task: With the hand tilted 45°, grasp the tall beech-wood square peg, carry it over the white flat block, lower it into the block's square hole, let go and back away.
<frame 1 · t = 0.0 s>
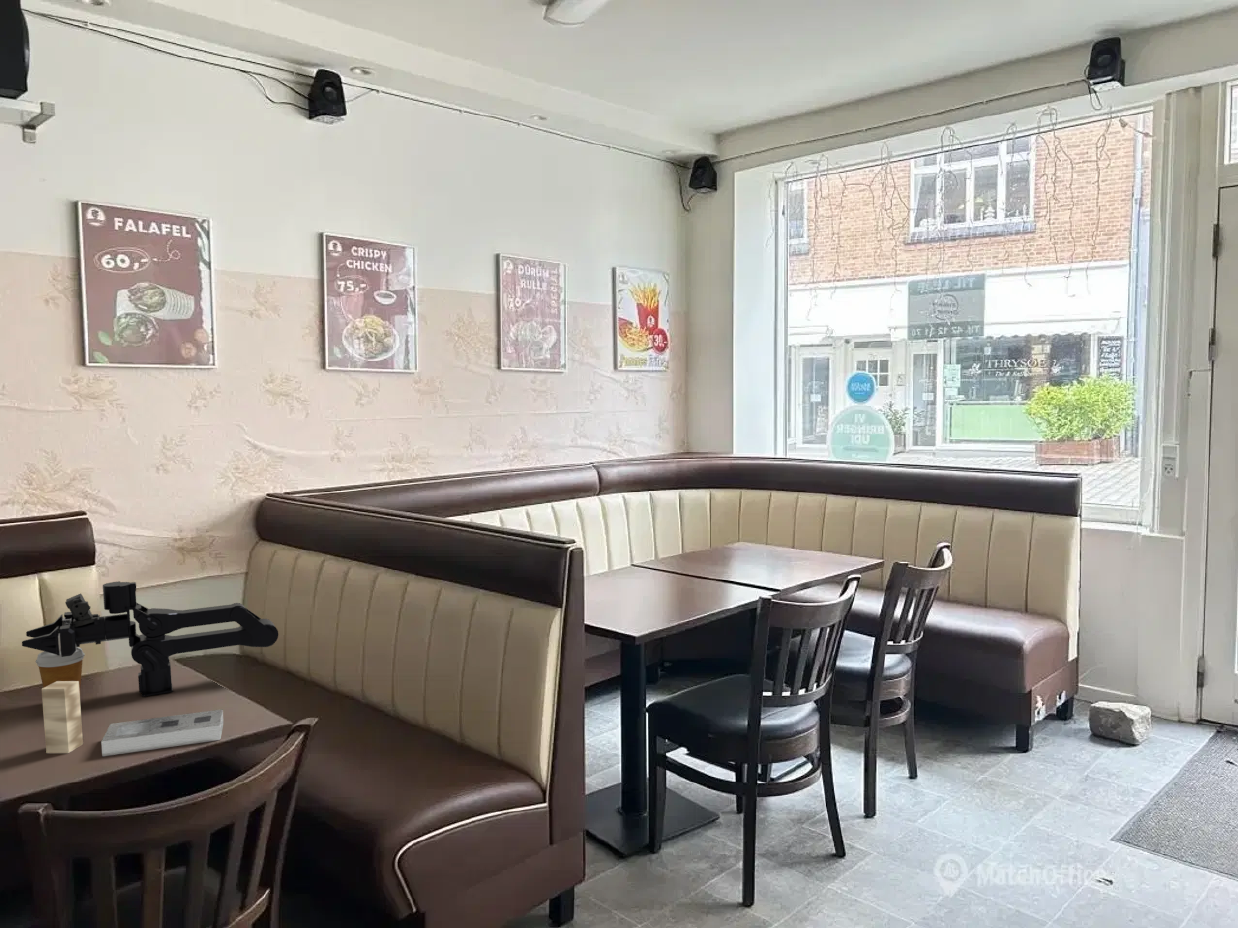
hand: (24, 638, 197), 17 cm above the table, tool horizontal, fingers open, 9 cm apart
white flat block: (135, 743, 179), on the table
beech peg: (64, 748, 177), on the table
disposable coffee cup: (63, 704, 203), on the table
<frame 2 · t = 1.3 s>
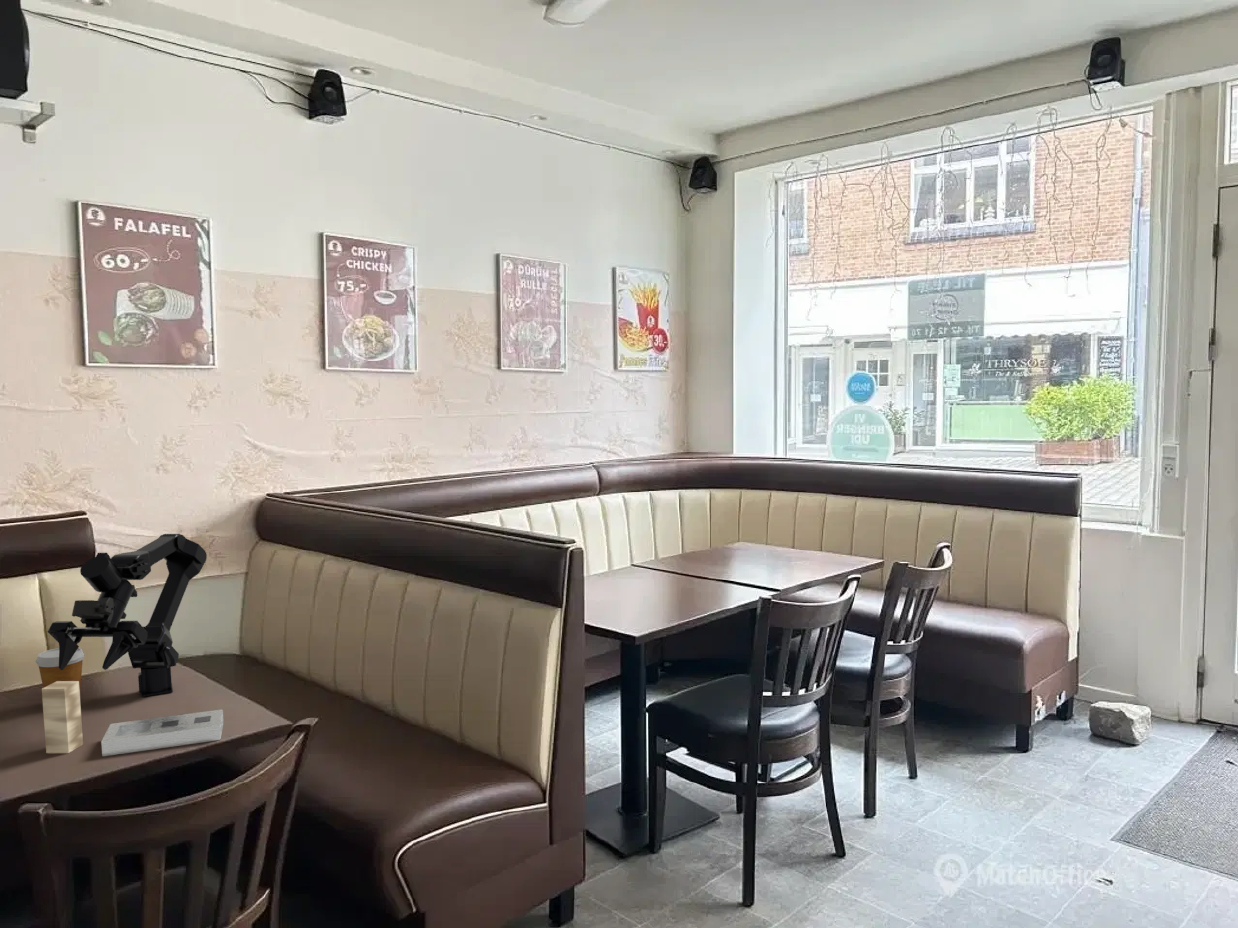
hand: (82, 668, 183), 14 cm above the table, tool tilted 45°, fingers open, 9 cm apart
nothing on the table moved.
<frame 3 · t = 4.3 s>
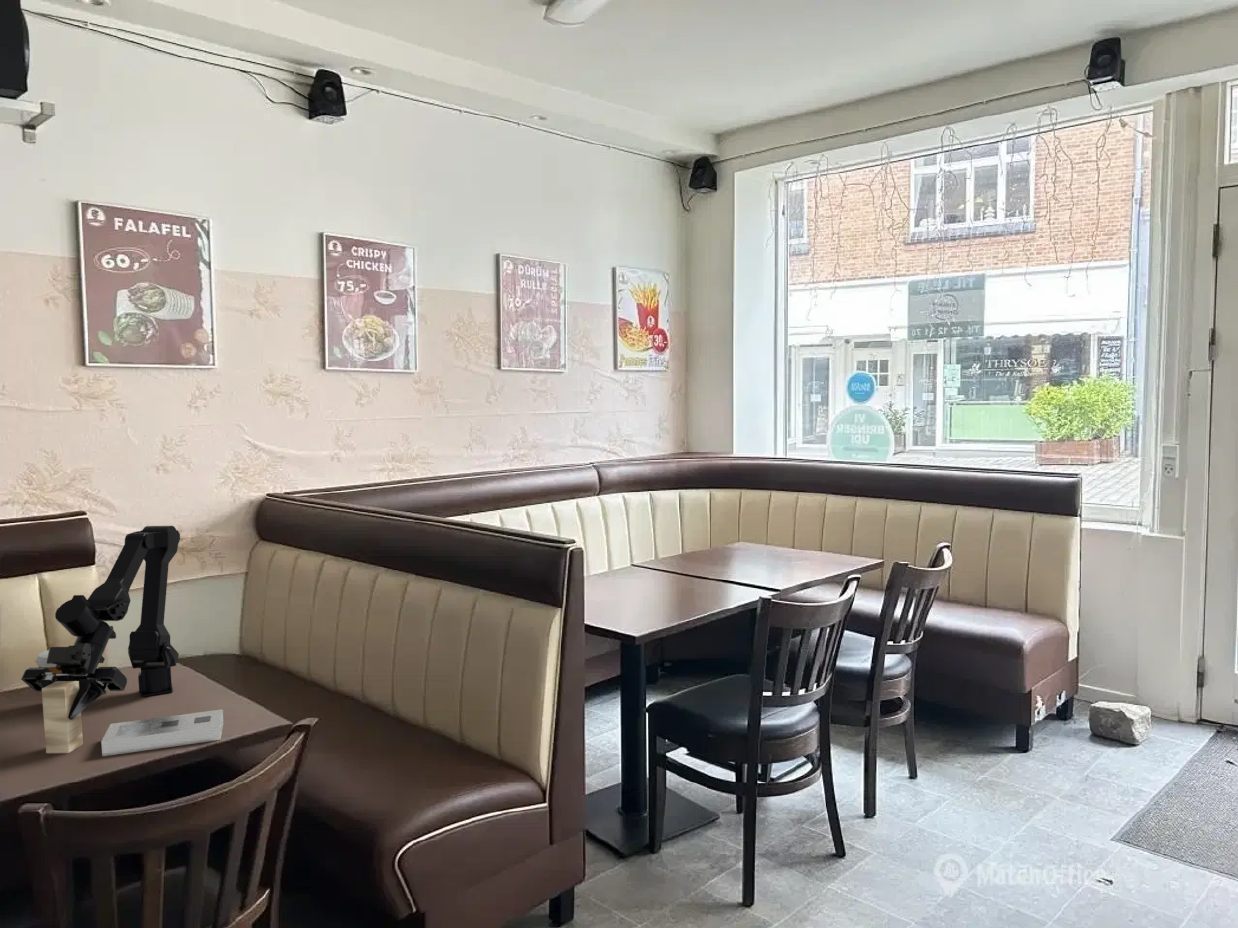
hand: (58, 718, 175), 7 cm above the table, tool tilted 45°, fingers closed on beech peg, 4 cm apart
beech peg: (64, 748, 177), on the table, touching gripper
everything else where it was.
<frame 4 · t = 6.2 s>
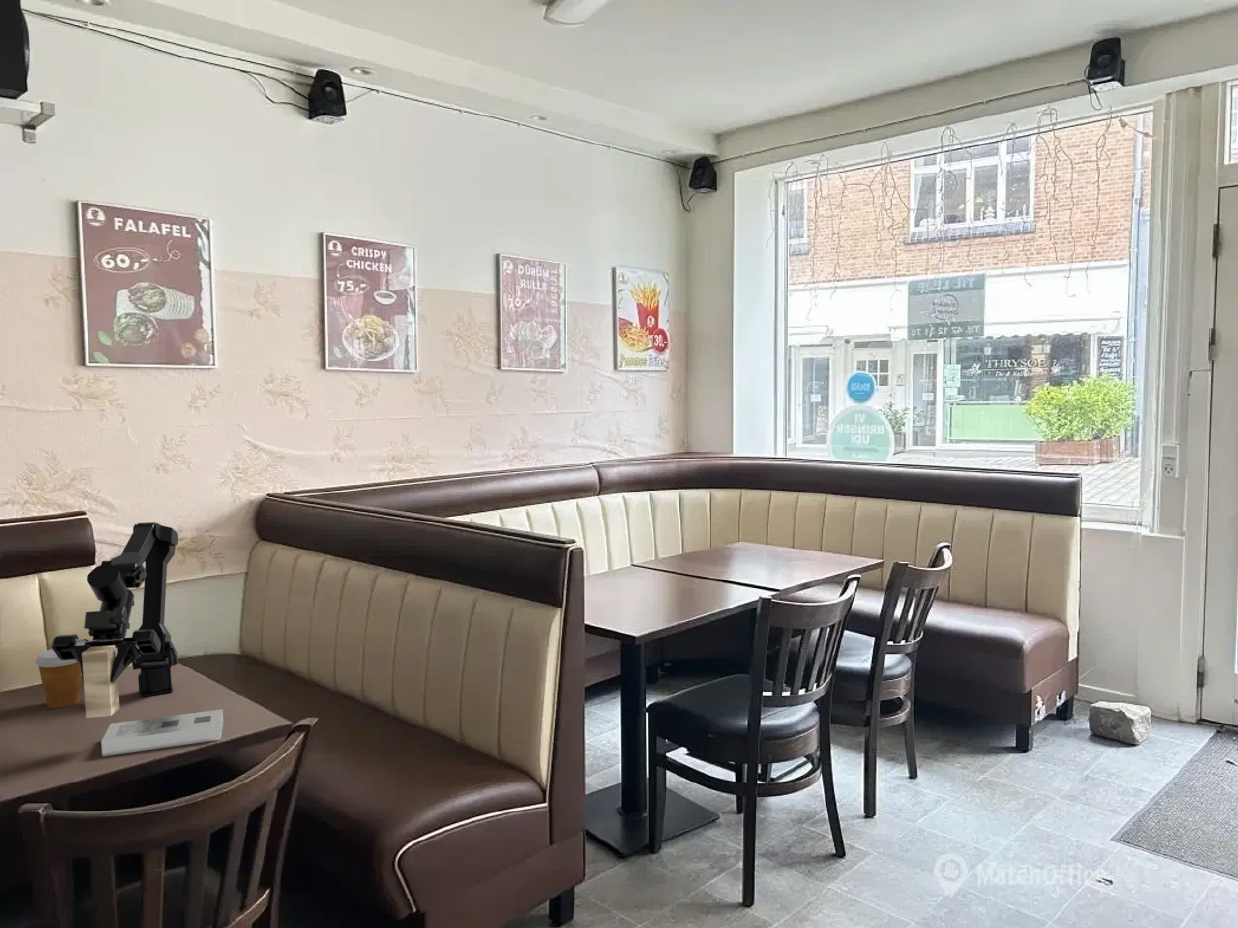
hand: (98, 682, 175), 13 cm above the table, tool tilted 45°, fingers closed on beech peg, 4 cm apart
beech peg: (103, 712, 177), point 7 cm above the table, touching gripper
everything else where it was.
when the fingers open (8 cm above the table, at t = 8.4 s): beech peg drops 1 cm, resting in white flat block.
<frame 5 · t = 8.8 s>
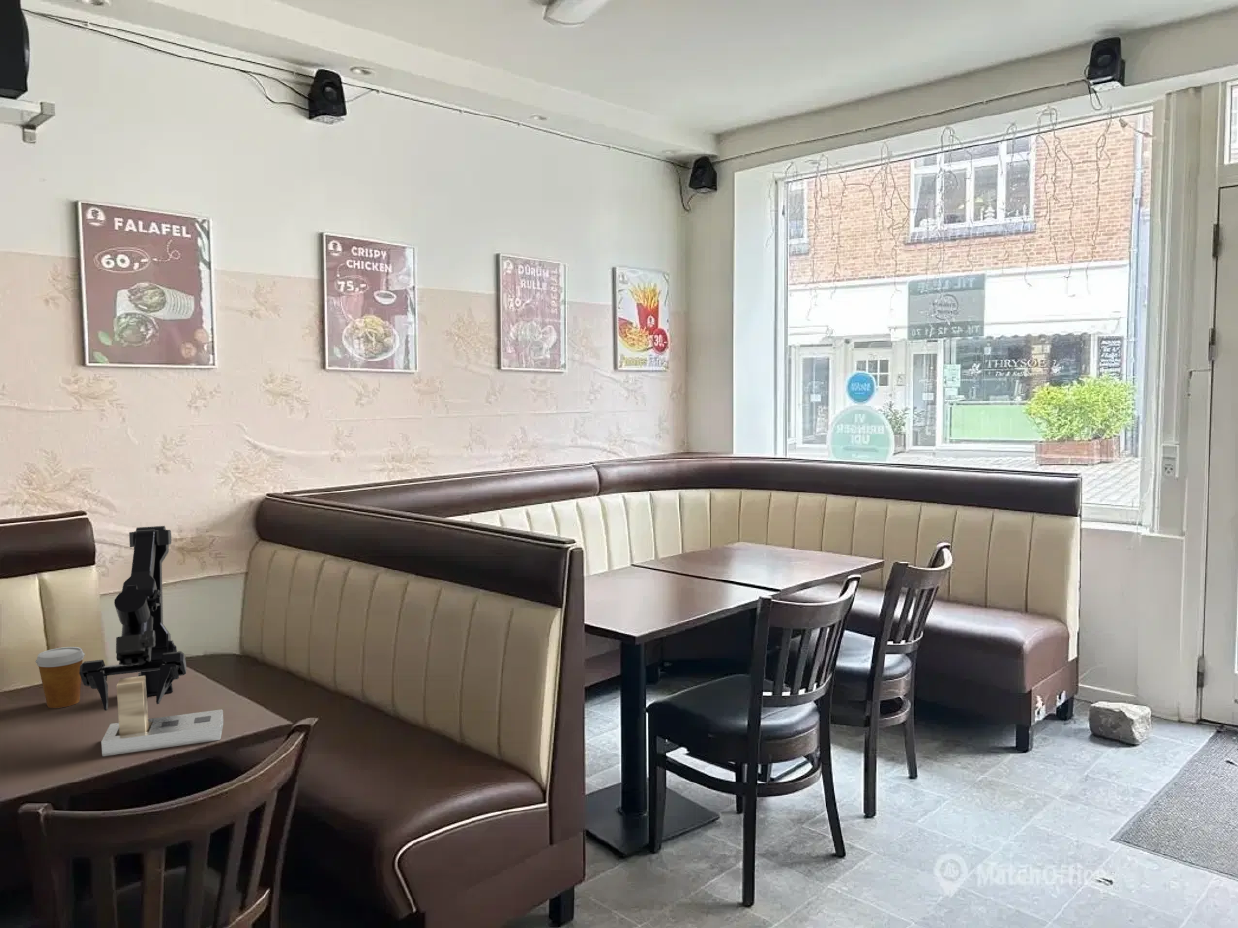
hand: (131, 706, 177), 8 cm above the table, tool tilted 45°, fingers open, 9 cm apart
beech peg: (135, 743, 179), resting in white flat block
everything else where it was.
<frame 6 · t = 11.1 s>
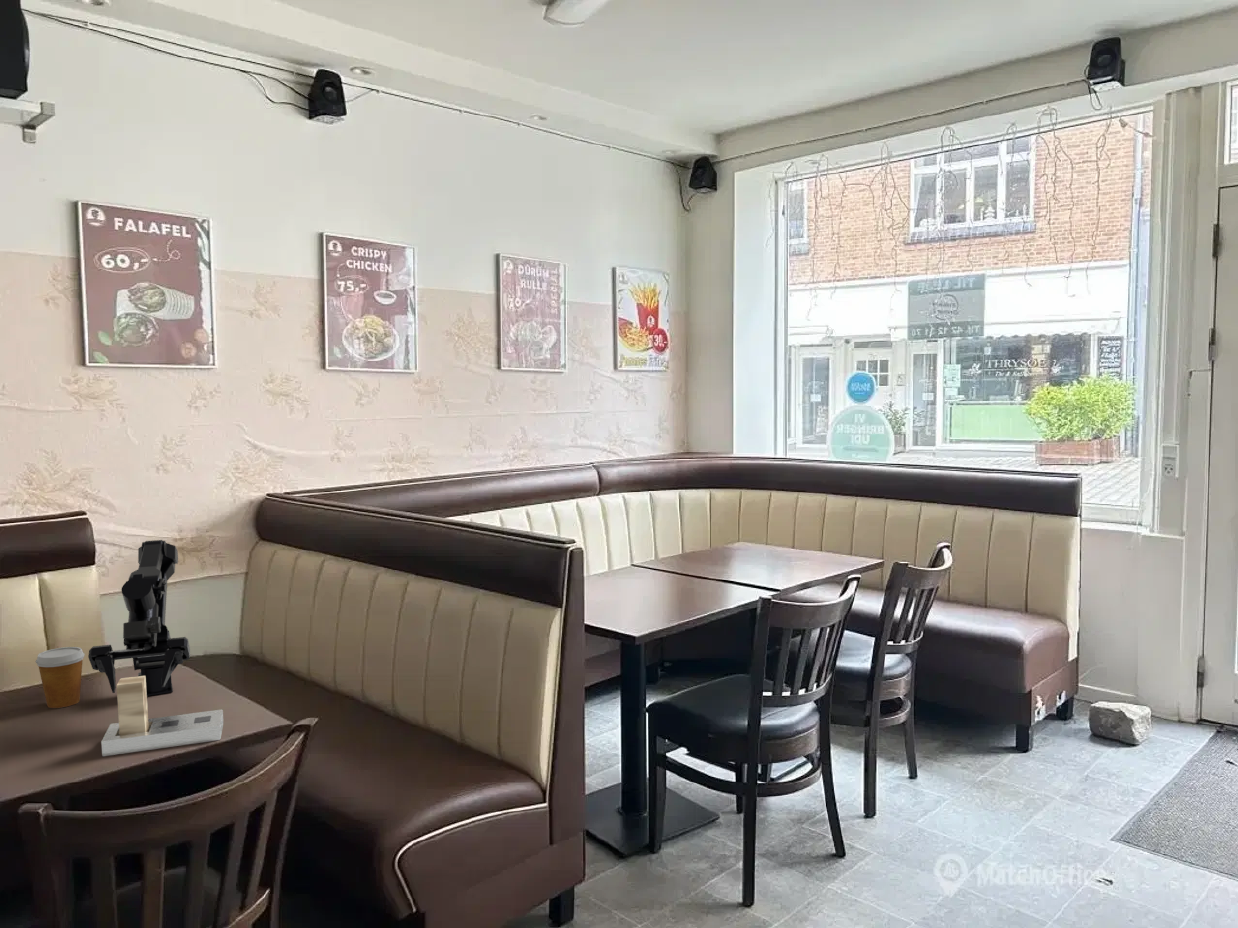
hand: (138, 689, 185), 9 cm above the table, tool tilted 45°, fingers open, 9 cm apart
nothing on the table moved.
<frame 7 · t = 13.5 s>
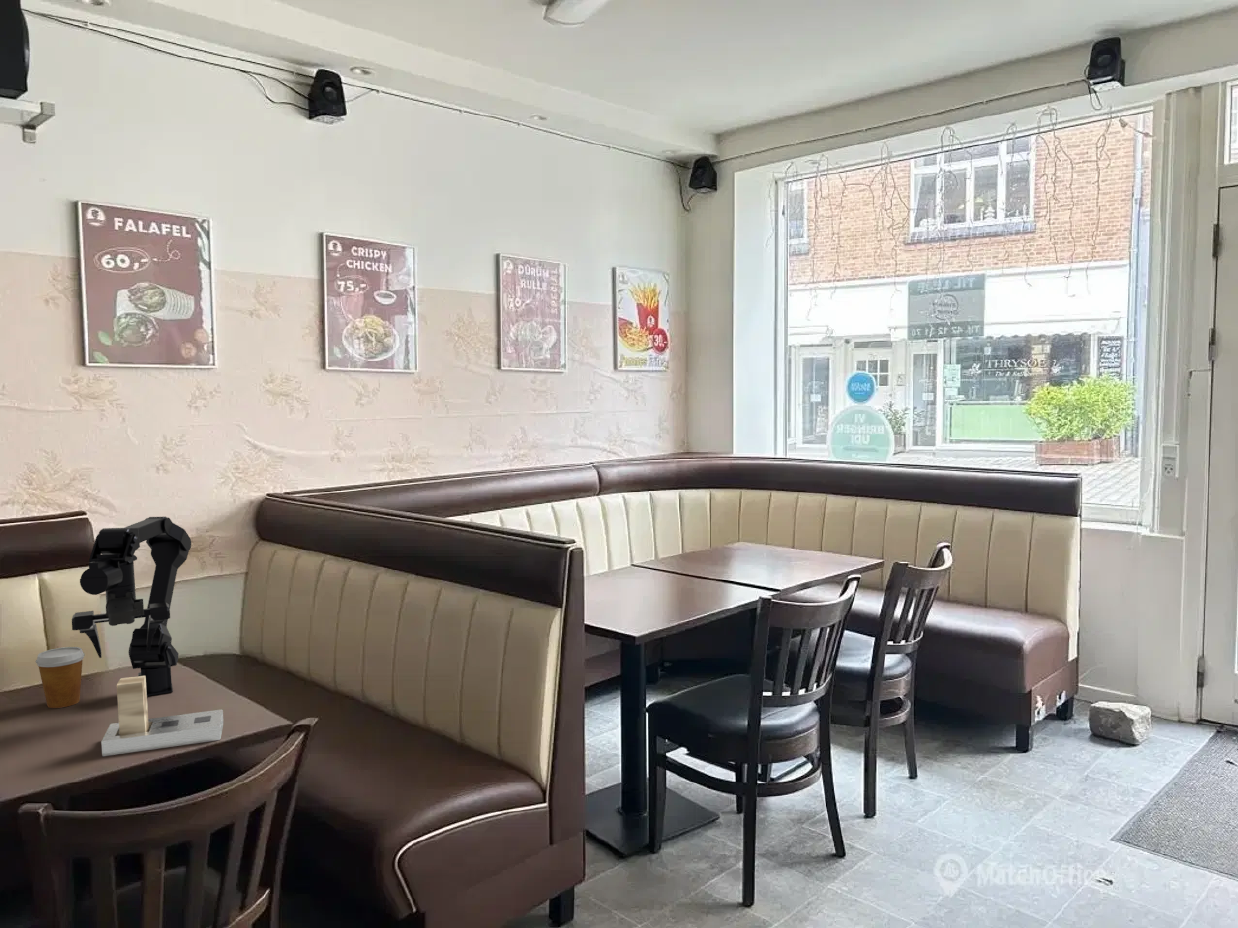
hand: (124, 654, 196), 13 cm above the table, tool pointing down, fingers open, 9 cm apart
nothing on the table moved.
at the end: beech peg 0.0 cm off-centre on the white flat block, point 0.0 cm above the white flat block's base; beech peg tilted 0°; the gripper is holding nothing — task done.
